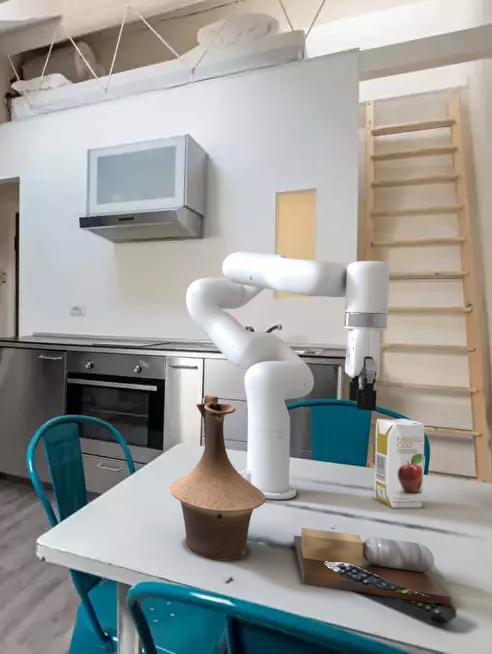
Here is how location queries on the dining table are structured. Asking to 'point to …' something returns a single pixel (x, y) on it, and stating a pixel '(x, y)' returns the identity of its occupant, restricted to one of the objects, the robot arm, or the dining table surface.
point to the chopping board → (412, 580)
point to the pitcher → (216, 494)
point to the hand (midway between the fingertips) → (361, 405)
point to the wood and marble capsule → (365, 550)
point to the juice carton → (399, 462)
